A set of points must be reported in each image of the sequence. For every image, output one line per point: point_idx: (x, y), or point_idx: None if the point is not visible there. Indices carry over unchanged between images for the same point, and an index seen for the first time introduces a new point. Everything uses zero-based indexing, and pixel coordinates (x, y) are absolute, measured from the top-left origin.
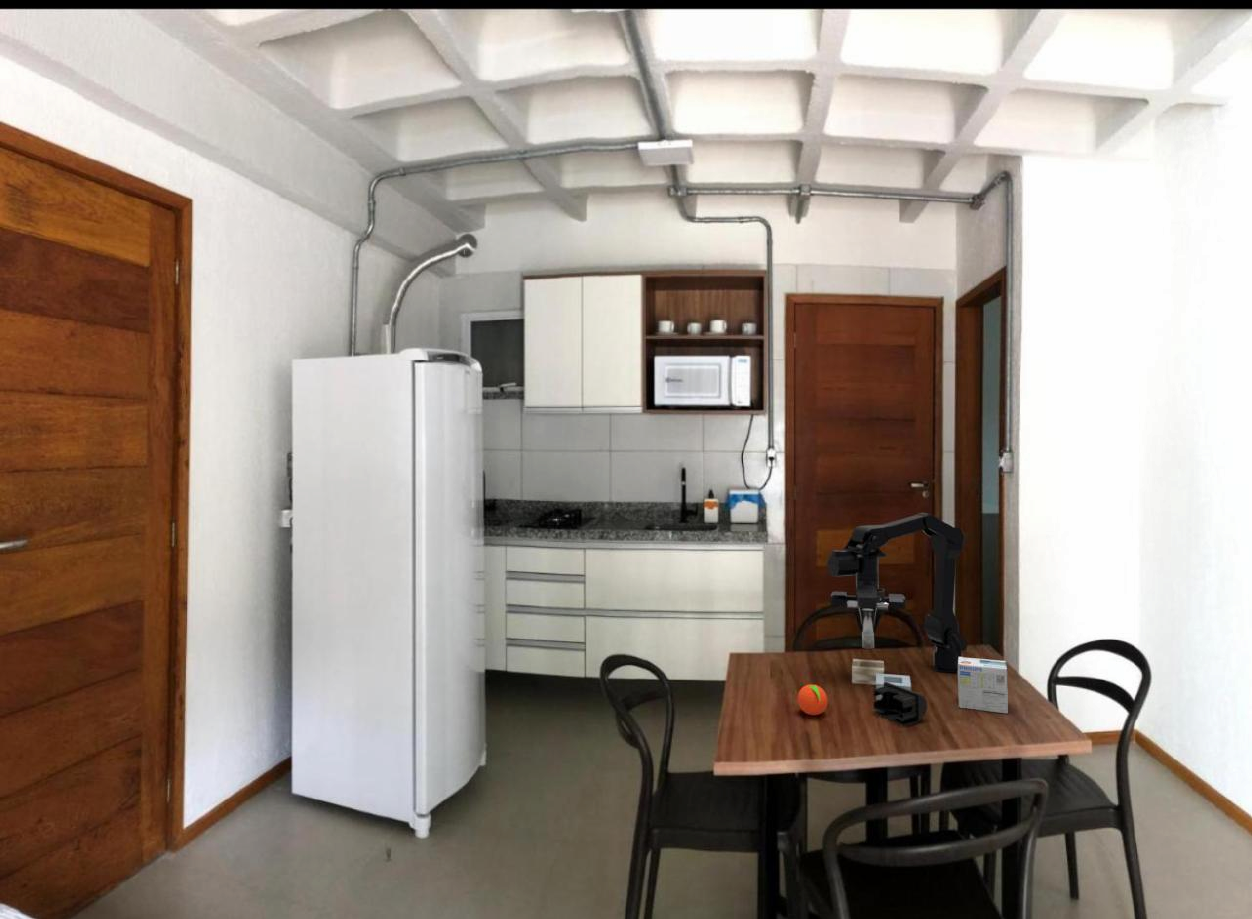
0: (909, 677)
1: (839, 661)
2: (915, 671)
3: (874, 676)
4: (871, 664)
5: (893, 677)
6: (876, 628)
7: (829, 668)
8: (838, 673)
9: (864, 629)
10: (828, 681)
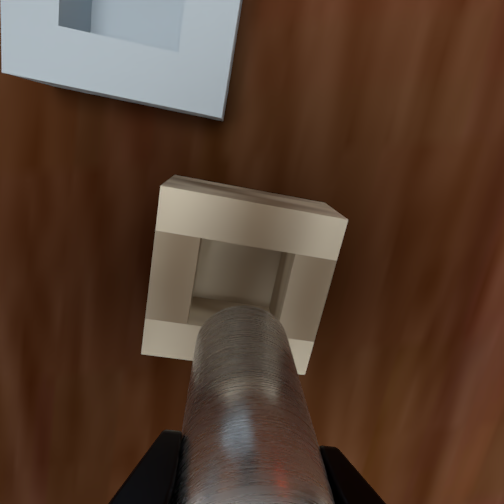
0: (2, 35)
1: None
2: (7, 383)
3: (220, 189)
4: None
5: (115, 39)
6: (136, 472)
7: (377, 383)
8: (355, 327)
9: (309, 450)
10: (429, 218)
